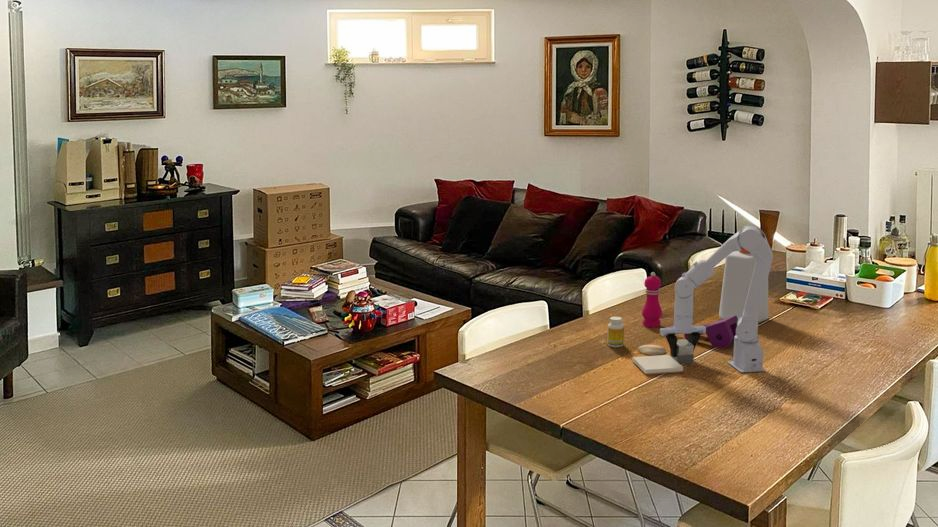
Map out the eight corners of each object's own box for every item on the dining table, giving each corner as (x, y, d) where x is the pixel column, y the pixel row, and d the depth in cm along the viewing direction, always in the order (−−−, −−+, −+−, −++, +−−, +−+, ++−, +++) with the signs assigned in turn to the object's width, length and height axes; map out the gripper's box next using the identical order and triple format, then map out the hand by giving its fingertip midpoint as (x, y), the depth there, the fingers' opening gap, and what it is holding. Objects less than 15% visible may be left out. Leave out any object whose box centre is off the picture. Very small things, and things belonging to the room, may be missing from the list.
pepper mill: (637, 323, 300) (638, 271, 296) (653, 321, 303) (655, 269, 299) (649, 329, 294) (651, 275, 290) (665, 326, 297) (667, 272, 292)
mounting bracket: (687, 358, 280) (733, 345, 268) (678, 335, 281) (724, 321, 269) (700, 351, 287) (745, 338, 275) (691, 328, 288) (736, 315, 276)
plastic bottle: (736, 311, 314) (740, 240, 308) (772, 319, 303) (777, 245, 297) (714, 318, 305) (717, 245, 299) (750, 327, 293) (754, 251, 287)
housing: (693, 363, 257) (694, 345, 256) (678, 364, 257) (679, 346, 255) (684, 356, 264) (685, 338, 263) (670, 357, 263) (670, 339, 262)
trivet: (683, 372, 249) (683, 367, 249) (645, 375, 248) (645, 369, 247) (668, 360, 261) (668, 354, 260) (632, 362, 259) (632, 357, 259)
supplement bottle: (605, 343, 279) (606, 316, 277) (621, 342, 280) (621, 315, 277) (609, 347, 274) (609, 320, 272) (625, 347, 274) (625, 320, 272)
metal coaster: (669, 354, 266) (669, 352, 266) (643, 355, 265) (643, 354, 265) (660, 345, 275) (660, 344, 275) (634, 347, 274) (634, 345, 274)
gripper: (700, 310, 262) (698, 350, 265) (656, 312, 260) (655, 352, 263) (709, 316, 255) (707, 357, 258) (664, 318, 253) (663, 360, 256)
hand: (681, 355), depth 260 cm, fingers closed on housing, 5 cm apart
